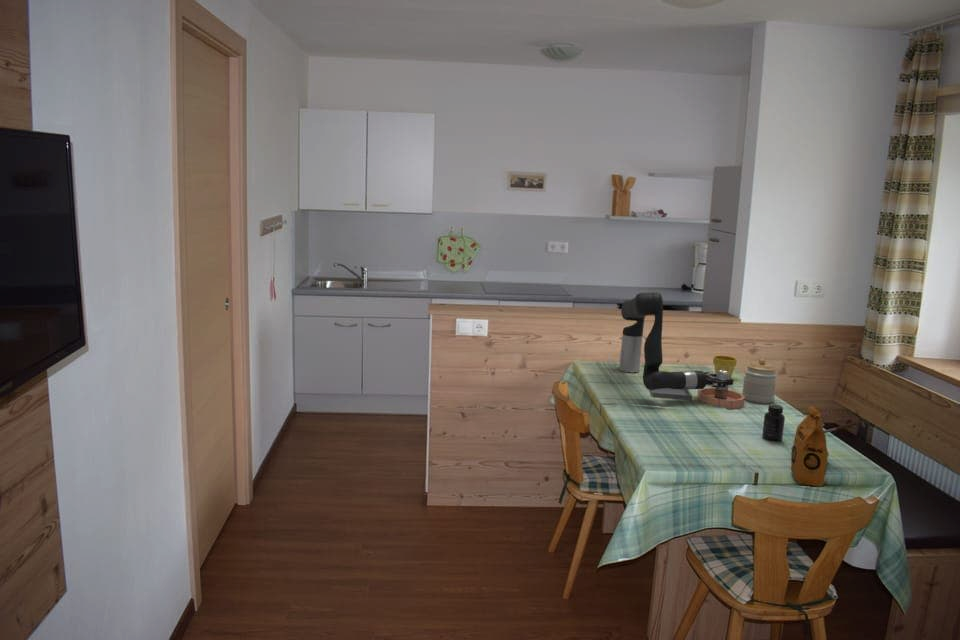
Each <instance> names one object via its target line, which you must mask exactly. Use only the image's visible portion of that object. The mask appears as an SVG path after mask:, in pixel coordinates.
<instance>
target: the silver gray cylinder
mask: <svg viewBox="0 0 960 640" xmlns="http://www.w3.org/2000/svg"><path fill="white" fill-rule="evenodd" d="M729 376H730V374H728V372H727V371H722V370H719V371H718V373H717V377H719V378H720V379H725V380H728V379H729ZM716 381H718V380H717V379H716ZM721 384H722V383H721ZM714 388H715V395H714V398H717V399H725V400H727V393H728V390H729V385H726V387H714Z"/></svg>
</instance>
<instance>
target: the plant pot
mask: <svg viewBox="0 0 960 640" xmlns="http://www.w3.org/2000/svg"><path fill="white" fill-rule="evenodd" d="M737 362H738V360H737V357H734V356H730V355H719V354H718V355H713V358H712V364H713V366H714V374H717V373H718V371H719V370H722V371H727V372H728V374H730V376H729V379H731V378H732V376H733V372H734V370H735V367H736V366H737V364H738V363H737Z"/></svg>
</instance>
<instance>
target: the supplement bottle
mask: <svg viewBox="0 0 960 640" xmlns="http://www.w3.org/2000/svg"><path fill="white" fill-rule="evenodd" d="M767 408H768V409H767V412H765V414H764V416H763V424H762V425H763V426H762V434H761V435H762V438H763V440H764V439H765V440H766V441H770V442H781V441H782V440H783V436H784V429H785V428H784V427H785V419H786V417H785V415H784V414H783V412H784V407H783V406H782V405H779V404H769V405H768V407H767Z"/></svg>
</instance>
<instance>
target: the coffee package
mask: <svg viewBox="0 0 960 640" xmlns="http://www.w3.org/2000/svg"><path fill="white" fill-rule="evenodd" d="M806 410H807V412H808V414H807V415H806V416H805V418H803V420H802V421H801V422H800V423H799V424H798V425H797V427H796V431H795V436H794V440H793V443H792V444H793V445H792V446H793V450H791V456H790V470H791V473H792V475H793V477H794V478H795V479H796V482H797V483H798V484H799V485H806V486H812V487H816V488H817V487H819V488H823V486H824V482H825V477H826V474H827V473H826V472H827V466H828V457H829V455H828V454H829V452H828V453H827V450H828V448H827V438H826V437H827V436H826V433H824V426H823V427H822V424H821V422H822V421H821V412H820V411H819V410H818V409H816V408H815V407H814V406H811V405H810V406H808V408H807V409H806Z"/></svg>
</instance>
